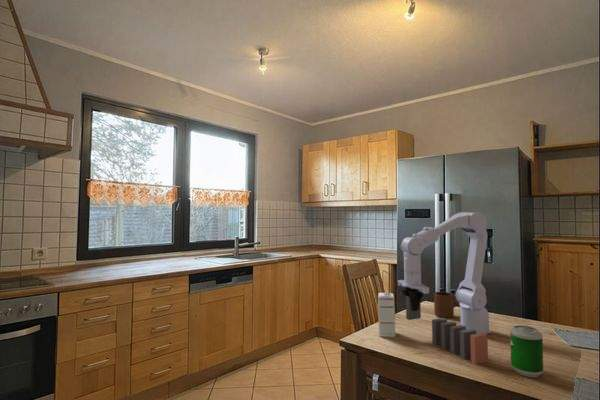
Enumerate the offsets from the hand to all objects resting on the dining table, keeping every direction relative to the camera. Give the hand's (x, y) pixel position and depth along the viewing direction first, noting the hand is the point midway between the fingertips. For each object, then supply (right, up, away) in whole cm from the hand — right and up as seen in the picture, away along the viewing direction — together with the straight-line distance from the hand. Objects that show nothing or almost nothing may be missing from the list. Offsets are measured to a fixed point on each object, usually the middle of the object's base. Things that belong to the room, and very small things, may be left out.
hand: (413, 309), depth 126 cm
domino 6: (+13, -9, -21) cm, 26 cm away
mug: (+23, -10, +24) cm, 35 cm away
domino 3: (+9, -10, -9) cm, 16 cm away
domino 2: (+7, -10, -6) cm, 13 cm away
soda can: (+23, -9, -27) cm, 37 cm away
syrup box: (-9, -10, +3) cm, 14 cm away
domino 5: (+12, -9, -17) cm, 22 cm away
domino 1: (0, -3, 0) cm, 3 cm away
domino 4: (+10, -9, -13) cm, 19 cm away
